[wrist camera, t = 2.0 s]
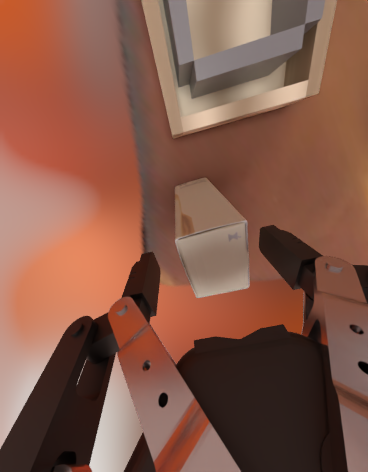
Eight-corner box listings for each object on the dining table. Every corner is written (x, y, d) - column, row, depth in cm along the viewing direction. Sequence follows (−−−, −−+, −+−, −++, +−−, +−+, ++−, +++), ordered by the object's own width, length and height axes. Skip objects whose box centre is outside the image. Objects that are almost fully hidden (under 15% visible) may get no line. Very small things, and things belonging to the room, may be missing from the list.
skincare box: (173, 186, 18) (169, 235, 8) (206, 176, 18) (249, 214, 7) (186, 228, 22) (195, 302, 11) (214, 220, 21) (251, 290, 11)
